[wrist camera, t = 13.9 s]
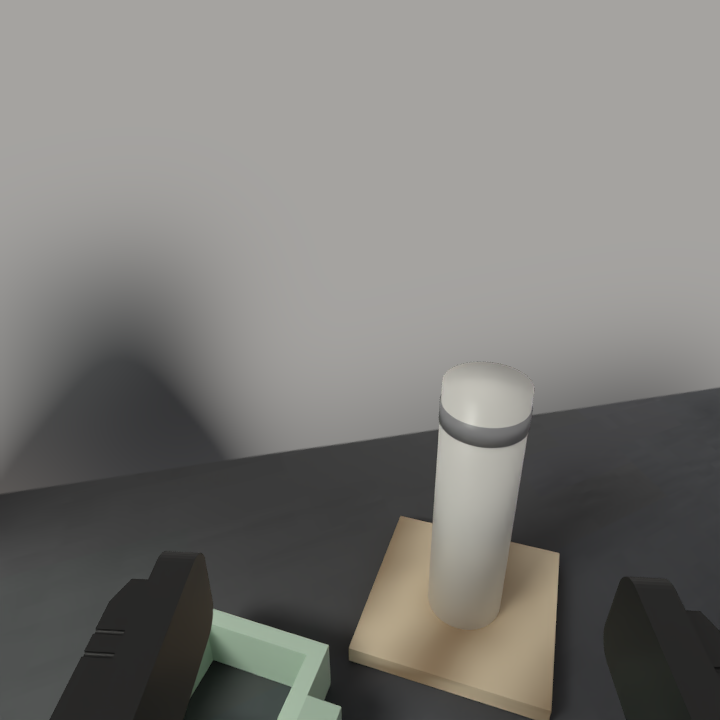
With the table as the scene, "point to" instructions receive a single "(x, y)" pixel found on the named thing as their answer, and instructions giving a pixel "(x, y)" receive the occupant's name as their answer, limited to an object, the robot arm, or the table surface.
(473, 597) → the thermos bottle
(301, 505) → the table surface
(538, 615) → the oak pad
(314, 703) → the collar
